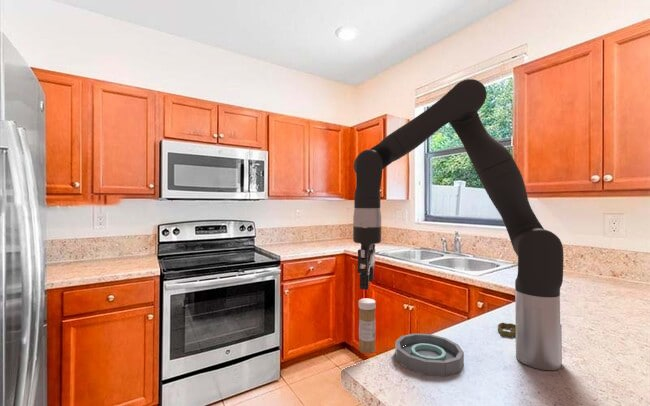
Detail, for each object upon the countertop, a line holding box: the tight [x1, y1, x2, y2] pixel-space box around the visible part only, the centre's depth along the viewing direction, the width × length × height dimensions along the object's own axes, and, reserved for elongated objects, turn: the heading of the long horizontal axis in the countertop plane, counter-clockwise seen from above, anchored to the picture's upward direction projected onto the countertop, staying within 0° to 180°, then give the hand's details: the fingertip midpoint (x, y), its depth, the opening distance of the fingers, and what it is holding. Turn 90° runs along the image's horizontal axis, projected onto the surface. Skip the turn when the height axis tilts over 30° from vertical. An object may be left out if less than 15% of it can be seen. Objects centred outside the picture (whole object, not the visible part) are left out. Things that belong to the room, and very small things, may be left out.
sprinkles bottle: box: [358, 297, 377, 354], centre depth 83 cm, size 5×5×13 cm
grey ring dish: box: [394, 333, 465, 377], centre depth 78 cm, size 16×16×3 cm
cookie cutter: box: [497, 322, 516, 338], centre depth 95 cm, size 18×12×2 cm, turn 123°
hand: (366, 285), depth 83 cm, fingers open, 8 cm apart
